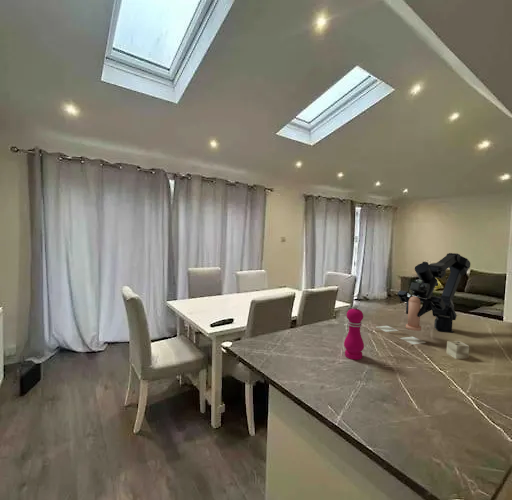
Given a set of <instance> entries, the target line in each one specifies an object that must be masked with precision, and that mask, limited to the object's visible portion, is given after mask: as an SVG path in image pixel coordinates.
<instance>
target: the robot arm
mask: <svg viewBox="0 0 512 500" xmlns="http://www.w3.org/2000/svg"><path fill="white" fill-rule="evenodd" d="M470 268H471V261H470V260H469V259H468V258H467V257H465V256H463V255H461V254H459V253H455V252H454V253H453V252H449V253H447V254H446V255H445V256H444V257H443V258H441V259H439V261H437V262H433V263H429V262H428V261H422V263H419V264H416V266H414V272H415V273H416V275H417V277H418V279H419V280H420V281H421V282H413V281H411V283H410V286H409V290H410V291H412V294H411V293H409V291H406V290H402V289H401V290H398V292H397V298H399V300H400V301H401V302H403V303H406V305H405V306H406V307H405V308H406V309H405V313H406V315H408V305H409V299H410V298H411V297H413V296H416V297H418V298H419V299H420V302H421V303H422V305H421V307H420V311H419V312H418V315H417V316H418V317H420V318H421V317H422V316H423V315H425V314H427V313H428V312H430V311H431V312H432V317H435V319H434V329H435V330H437V332H444V333H454V330H453V321H456V319H457V313H456V311H455V306H454V305H455V304H454V302H453V299H454V297H455V294H456V292H457V289H458V286H459V285H460V284H459V283H460V281H461V278H462V276H464V275H465V274H467V273H468V271H469V269H470ZM448 269H449V272H450V273H449V275H448V278H447V281H446V283H445V285H444V288H443V291H442V292H441V293H442V294H441V296H440V297H439V296H433V295H434V293H433V292H434V290H435V287H439V283H438V282H439V281H438V279H443V278H444V276H445V275H446V273H447V272H446V271H447V270H448Z"/></svg>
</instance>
